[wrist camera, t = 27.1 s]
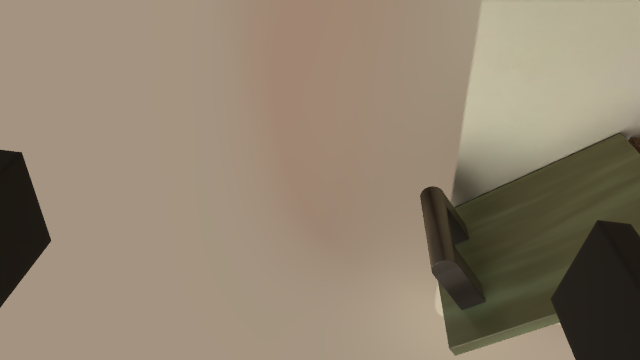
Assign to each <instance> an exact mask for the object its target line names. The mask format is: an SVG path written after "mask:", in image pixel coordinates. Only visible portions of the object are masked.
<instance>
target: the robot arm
mask: <svg viewBox="0 0 640 360" xmlns="http://www.w3.org/2000/svg"><path fill="white" fill-rule="evenodd" d="M50 241H51V239H50V236H49V233H48V230H47V227H46V224H45V221H44V218H43V215H42V212H41V209H40V206H39V203H38V200H37V197H36V194H35V191H34V188H33V185H32V182H31V179H30V176H29V173H28V170H27V167H26V164H25V161H24V158H23V155H22V153H21V152H14V151H5V150H0V307H1V306H2V305H3V303H4V302H5V301H6V299H7V298H8V297H9V295H10V294H11V293H12V291H13V290H14V289H15V288H16V286H17V285H18V283H19V282H20V281H21V280H22V278H23V277H24V276H25V274H26V273H27V272H28V271H29V269H30V268H31V267H32V265H33V264H34V263H35V261H36V260H37V259H38V258H39V256H40V255H41V254H42V252H43V251H44V250H45V248H46V247H47V246H48V244H49V243H50ZM551 302H552V304H553V306H554V309H555V311H556V314H557V316H558V318H559V321H560V323H561V325H562V328H563V330H564V333H565V335H566V338H567V340H568V342H569V345H570V347H571V349H572V352H573V354H574V357H575V359H576V360H640V236H639V235H638V233H637V232H636V231H635V229H634V228H633V226H632V225H631V224H627V223H619V222H610V221H602V220H597V221H596V223H595V225H594V227H593V228H592V230H591V232H590V233H589V235H588V237H587V238H586V240H585V242H584V243H583V245H582V247H581V248H580V250H579V252H578V254H577V255H576V257H575V259H574V260H573V262H572V264H571V265H570V267H569V269H568V270H567V272H566V274H565V275H564V277H563V279H562V281H561V282H560V284H559V286H558V287H557V289H556V291H555V292H554V294H553V296H552V297H551Z"/></svg>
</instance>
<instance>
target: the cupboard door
mask: <svg viewBox="0 0 640 360" xmlns="http://www.w3.org/2000/svg"><path fill="white" fill-rule="evenodd" d="M420 197H421V204H422V211H423V217H424V223H425V230H426V236H427V243H428V250H429V256H430V263H431V268H432V273H433V275H434V276H435V277H436V279H437V280H438V284H439V290H440V296H441V302H442V308H443V314H444V320H445V326H446V332H447V337H448V344H449V349H450V350H451V351H452V352H453V353H454V355H458V354H462V353H465V352H468V351H471V350H474V349H477V348H481V347H484V346H487V345H490V344H493V343H496V342H499V341H502V340H506V339H509V338H512V337H515V336H518V335H521V334H525V333H528V332H531V331H534V330H537V329H540V328H543V327H546V326H549V325H553V324H556V323H559V322H560V321H559V318H558V316H557V314H556V311H555V309H554V306H553V304H552V302H551V297H552V296H553V294H554V292H555V291H556V289H557V287H558V286H559V284H560V282H561V281H562V279H563V277H564V275H565V274H566V272H567V270H568V269H569V267H570V265H571V264H572V262H573V260H574V259H575V257H576V255H577V254H578V252H579V250H580V248H581V247H582V245H583V243H584V242H585V240H586V238H587V237H588V235H589V233H590V232H591V230H592V228H593V227H594V225H595V223H596V221H597V220H602V221H610V222H619V223H627V224H631V225H632V226H633V228H634V229H635V231H636V232H637V233H638V235H639V236H640V154H639V153H638V152H637V151H636V149H635V148H634V147H633V146H632V145H631V144H630V143H629V142H628V141H627V139H626V138H625V137H624V136H623V135H622V134H621V133H620V134H617V135H615V136H613V137H611V138H609V139H606V140H604V141H602V142H600V143H598V144H595V145H593V146H591V147H589V148H586V149H584V150H582V151H580V152H578V153H575V154H573V155H571V156H569V157H567V158H564V159H562V160H560V161H558V162H555V163H553V164H551V165H549V166H547V167H544V168H542V169H540V170H538V171H536V172H533V173H531V174H529V175H527V176H525V177H522V178H520V179H518V180H516V181H513V182H511V183H509V184H507V185H505V186H502V187H500V188H498V189H496V190H494V191H491V192H489V193H487V194H485V195H482V196H480V197H478V198H476V199H474V200H471V201H469V202H467V203H465V204H463V205H460V206H458V207H456V208H454V207H453V206H452V204H451V203H450V201H449V200H448V198H447V197H446V196H445V194H444V193H443V191H442V190H441V189H440V188H438V187H428V188H426V189H424V190H423V191H422V193H421V195H420Z"/></svg>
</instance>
